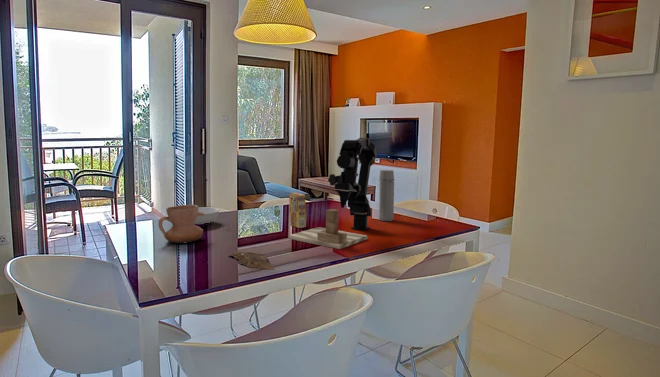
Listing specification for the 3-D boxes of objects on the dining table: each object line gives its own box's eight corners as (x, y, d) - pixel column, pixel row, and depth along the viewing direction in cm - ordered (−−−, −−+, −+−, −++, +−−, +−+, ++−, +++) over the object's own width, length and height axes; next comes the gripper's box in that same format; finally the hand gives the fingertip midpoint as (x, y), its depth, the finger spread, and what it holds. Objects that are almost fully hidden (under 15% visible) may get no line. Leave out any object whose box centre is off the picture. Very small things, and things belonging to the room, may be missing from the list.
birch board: (318, 230, 191) (318, 226, 191) (367, 239, 176) (367, 235, 175) (289, 238, 177) (289, 235, 176) (339, 249, 161) (339, 245, 161)
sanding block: (326, 236, 174) (326, 207, 172) (346, 240, 168) (346, 210, 166) (317, 239, 169) (317, 209, 167) (337, 243, 163) (337, 212, 161)
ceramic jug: (201, 234, 183) (198, 202, 181) (210, 241, 171) (208, 207, 169) (156, 241, 174) (153, 207, 172) (163, 249, 162) (160, 212, 160)
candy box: (306, 227, 197) (306, 194, 195) (298, 228, 195) (297, 195, 193) (297, 223, 205) (296, 192, 203) (289, 225, 202) (288, 193, 200)
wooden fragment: (224, 255, 154) (224, 252, 154) (252, 250, 161) (252, 247, 160) (254, 275, 133) (254, 271, 133) (285, 268, 140) (285, 265, 140)
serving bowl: (212, 229, 193) (211, 214, 192) (166, 229, 193) (165, 214, 193) (224, 220, 214) (223, 206, 213) (182, 220, 214) (181, 206, 213)
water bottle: (382, 218, 218) (383, 169, 215) (396, 219, 213) (397, 170, 210) (373, 221, 211) (374, 170, 207) (387, 223, 206) (388, 171, 203)
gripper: (339, 169, 188) (334, 204, 188) (324, 166, 171) (319, 205, 171) (363, 172, 184) (359, 208, 185) (351, 169, 167) (346, 209, 167)
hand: (345, 207), depth 177 cm, fingers open, 9 cm apart
